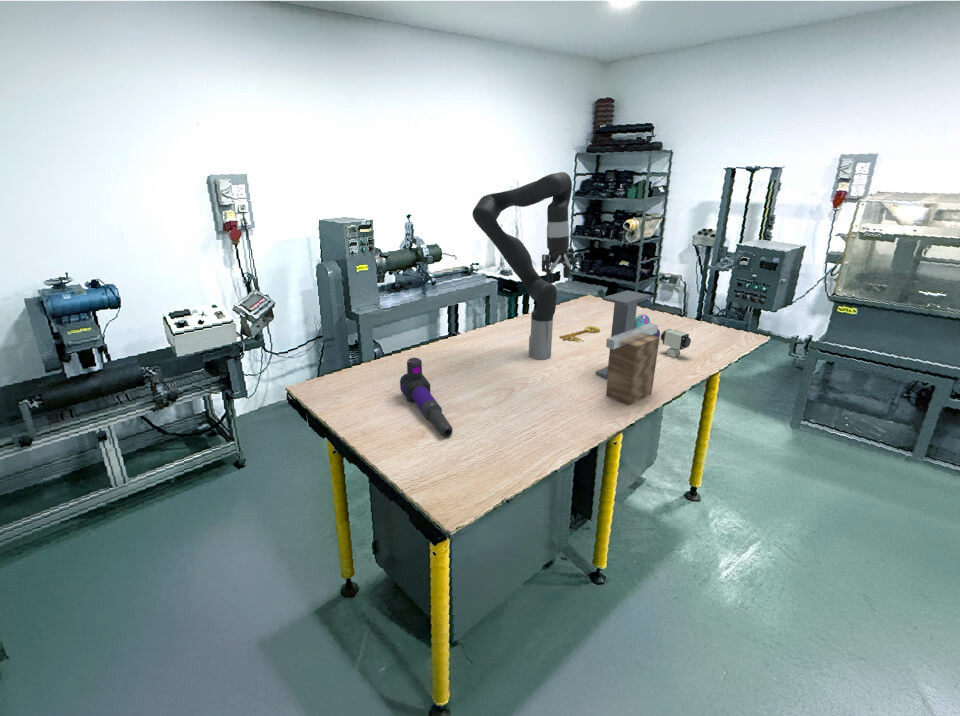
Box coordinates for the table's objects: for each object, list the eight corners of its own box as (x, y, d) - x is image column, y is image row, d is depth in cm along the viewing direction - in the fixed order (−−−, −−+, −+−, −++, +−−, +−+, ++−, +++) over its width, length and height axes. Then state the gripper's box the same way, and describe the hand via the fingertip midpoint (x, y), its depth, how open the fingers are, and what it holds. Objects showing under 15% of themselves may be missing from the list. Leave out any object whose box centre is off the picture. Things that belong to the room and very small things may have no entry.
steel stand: (616, 382, 190) (625, 302, 178) (595, 374, 197) (602, 297, 185) (640, 372, 200) (650, 295, 188) (619, 364, 207) (627, 290, 195)
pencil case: (630, 330, 248) (632, 312, 244) (648, 331, 247) (650, 312, 244) (640, 345, 228) (642, 325, 225) (659, 345, 228) (662, 325, 224)
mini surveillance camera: (682, 361, 210) (686, 334, 206) (658, 353, 219) (661, 327, 214) (689, 358, 213) (693, 331, 209) (665, 350, 222) (668, 325, 217)
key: (557, 339, 237) (558, 336, 237) (590, 327, 253) (590, 324, 252) (575, 346, 230) (575, 343, 229) (608, 333, 245) (608, 330, 245)
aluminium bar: (613, 349, 162) (614, 340, 161) (605, 347, 164) (606, 338, 163) (656, 332, 178) (657, 324, 177) (649, 330, 180) (650, 322, 179)
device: (434, 447, 152) (433, 406, 146) (399, 392, 182) (397, 356, 175) (460, 440, 156) (461, 400, 149) (422, 388, 185) (421, 352, 179)
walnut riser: (629, 405, 173) (636, 346, 165) (605, 395, 180) (611, 338, 172) (651, 393, 181) (659, 337, 173) (628, 384, 188) (634, 330, 180)
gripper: (563, 230, 176) (563, 274, 183) (535, 236, 168) (536, 283, 175) (579, 231, 171) (579, 277, 177) (551, 238, 163) (552, 286, 169)
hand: (558, 280), depth 176 cm, fingers open, 8 cm apart
